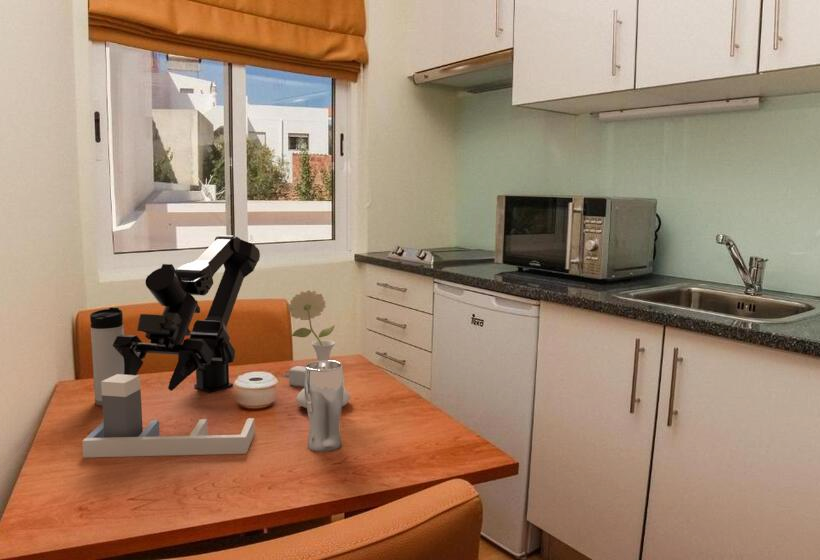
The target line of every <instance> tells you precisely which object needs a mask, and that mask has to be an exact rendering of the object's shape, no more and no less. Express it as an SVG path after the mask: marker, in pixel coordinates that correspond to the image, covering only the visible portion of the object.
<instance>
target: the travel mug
mask: <svg viewBox="0 0 820 560" xmlns="http://www.w3.org/2000/svg"><path fill="white" fill-rule="evenodd" d="M89 317H90V339H91V340H90V341H91V343H90V344H91V354H92V357H91V358H92V359H91V360H92V372H93V373H92V375H93V387H94V388H93V390H94V391H93V392H94V403H95V404H96V406H100V407H103V405H102V389H101V381H103V380H105V379H108V378H110V377H112V376H114V375H116V374H123V375H124V358H123V356H122V355H121V354H120V353H119V352H118V351H117V350H116V349H115V348H114V347H113V346H112V345H113V343H114V341H115V339H116V337H117V336H119V335H125V334H124V333H125V332H124V329H125V328H124V321H123V320H124V318H123V317H124V316H123V310H122V309H120V308H119V307H109V308H105V309H101V310H100V309H99V310H96V311H93V312H92V313H90V315H89Z"/></svg>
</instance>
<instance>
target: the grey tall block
mask: <svg viewBox="0 0 820 560" xmlns="http://www.w3.org/2000/svg"><path fill="white" fill-rule="evenodd" d="M101 389H102V405H103V406H102V420H103V421H102V422H104V438H112V437H138V436H139V435H140V434H141V433H142V431H143V430H144V429H143V415H142V414H143V410H142V393H141V391H142V390H141V375H137V374H136V375H123V374H116V375H114V376H112V377H110V378H108V379H105V380H103V381H101Z"/></svg>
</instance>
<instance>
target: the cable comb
mask: <svg viewBox="0 0 820 560" xmlns="http://www.w3.org/2000/svg"><path fill="white" fill-rule="evenodd" d="M255 433H256V432H255V418H254V417H252V418H251V417H249V418H246V421H245V423H244V425H243V427H242V430H241V433H240V434H215V435H214V434H211V435H209V434H208V419H207V418H202V419H199V420H198V422H197V423H196V425H195V427H194V428H193V430H192V431H191V433H190V434H189V435H173V436H172V435H171V436H170V435H166V436H164V435H163V436H160V420H159V419H152V420H151V421H150V422H149V423H148V424H147V425H146V427H144V429H143V431H142V433H141V434H140V435H139V436H138V437H112V438H104V422H103V421H102V422H101V423H99V424H98V426H96V427H95V428H94V429H93V430H92V431H91V432H90V433H89V434H88V435H87V436H86V437H85V438H83V440H82V452H83V453H82V455H83V458H85V459H86V458H121V457H122V458H123V457H125V458H126V457H159V456H161V457H162V456H166V457H167V456H168V457H169V456H200V455H201V456H202V455H236V454H237V455H238V454H239V455H241V454H242V455H244V454H247V453H248V450H249V448H250V445H251V443H252V440H253V438H254V436H255Z"/></svg>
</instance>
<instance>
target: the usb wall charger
mask: <svg viewBox="0 0 820 560" xmlns="http://www.w3.org/2000/svg"><path fill="white" fill-rule="evenodd" d="M305 369H306V367H305V366H301V365H296V366H293V367H291V368H290V369H289V370H288V371H286V373H281V377H282V378H286V379H288V384H289V385H290V386H292V385H293V387H302V388H304V387H305Z"/></svg>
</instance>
